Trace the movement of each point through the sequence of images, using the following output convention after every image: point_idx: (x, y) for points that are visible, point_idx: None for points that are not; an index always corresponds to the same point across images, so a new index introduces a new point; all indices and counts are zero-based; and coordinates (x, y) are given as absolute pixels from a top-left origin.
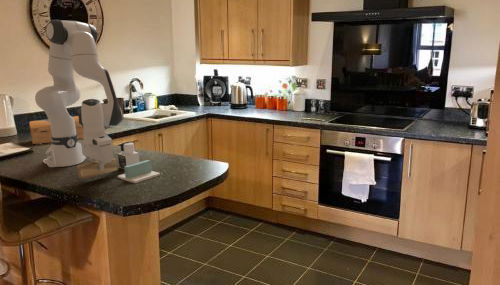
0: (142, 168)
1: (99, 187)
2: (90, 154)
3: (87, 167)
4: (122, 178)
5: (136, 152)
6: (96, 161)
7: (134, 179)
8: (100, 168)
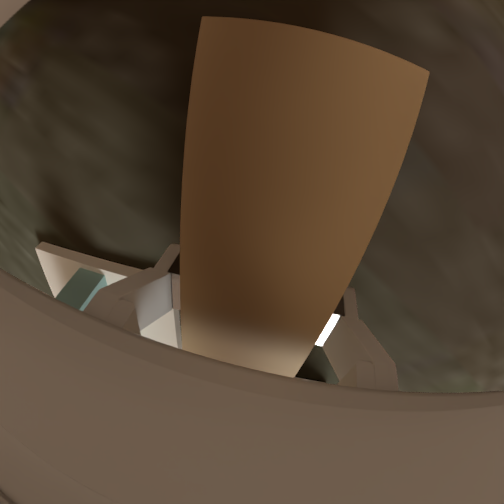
0: None
1: (102, 92)
2: (320, 453)
3: (194, 128)
4: (125, 269)
5: None
6: (289, 358)
7: (54, 265)
8: (163, 258)
